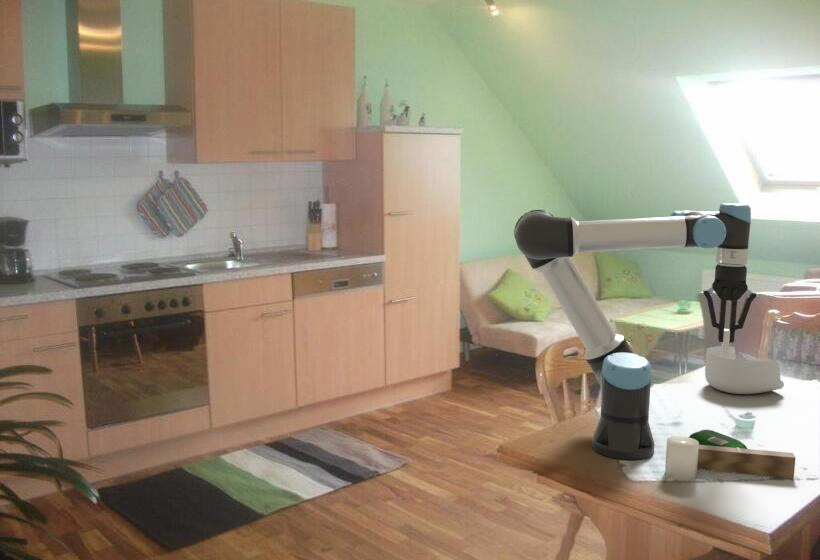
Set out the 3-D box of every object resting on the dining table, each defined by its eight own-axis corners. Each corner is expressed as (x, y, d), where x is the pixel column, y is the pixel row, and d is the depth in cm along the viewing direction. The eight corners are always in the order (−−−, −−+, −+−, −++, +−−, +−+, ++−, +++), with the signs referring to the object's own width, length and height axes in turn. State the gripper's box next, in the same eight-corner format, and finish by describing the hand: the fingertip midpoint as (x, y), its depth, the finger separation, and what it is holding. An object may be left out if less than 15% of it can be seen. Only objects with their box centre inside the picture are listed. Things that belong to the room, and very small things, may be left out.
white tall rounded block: (665, 478, 188) (667, 445, 187) (664, 467, 195) (666, 434, 193) (698, 481, 186) (700, 448, 185) (695, 470, 193) (697, 437, 192)
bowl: (691, 383, 265) (693, 347, 263) (740, 378, 270) (743, 343, 268) (732, 401, 246) (735, 363, 244) (785, 395, 252) (788, 358, 250)
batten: (692, 468, 194) (694, 448, 193) (691, 464, 197) (693, 443, 196) (793, 478, 188) (795, 457, 188) (791, 473, 191) (792, 452, 190)
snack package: (733, 470, 194) (734, 449, 193) (682, 448, 207) (683, 428, 206) (753, 465, 197) (755, 444, 196) (702, 444, 210) (703, 424, 210)
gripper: (705, 265, 207) (699, 355, 211) (760, 267, 204) (753, 359, 207) (703, 261, 214) (697, 349, 218) (757, 263, 211) (750, 352, 215)
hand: (724, 354), depth 213 cm, fingers closed
